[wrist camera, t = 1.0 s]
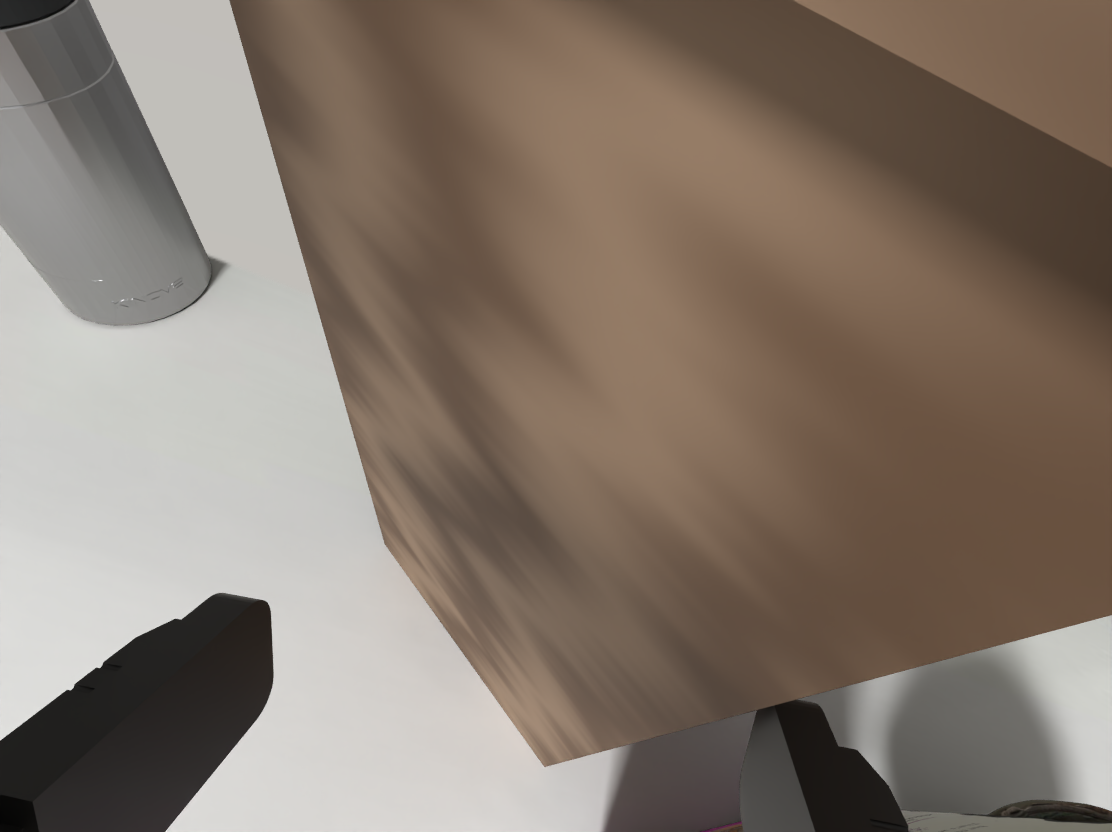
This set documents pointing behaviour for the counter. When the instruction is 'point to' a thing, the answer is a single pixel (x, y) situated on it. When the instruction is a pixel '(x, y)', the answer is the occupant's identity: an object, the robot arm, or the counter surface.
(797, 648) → the stand
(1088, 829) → the candy bar box
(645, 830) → the counter surface
